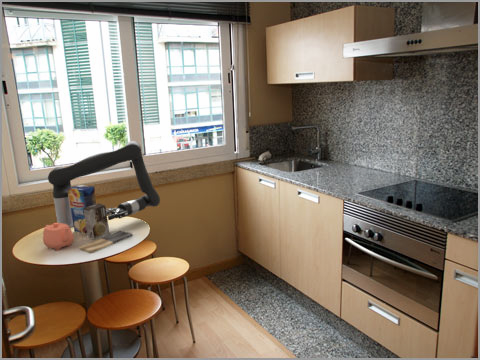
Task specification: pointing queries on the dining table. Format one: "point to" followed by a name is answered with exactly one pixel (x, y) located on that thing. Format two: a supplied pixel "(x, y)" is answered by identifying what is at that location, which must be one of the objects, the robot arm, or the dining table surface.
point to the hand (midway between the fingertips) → (103, 216)
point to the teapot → (57, 236)
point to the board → (105, 241)
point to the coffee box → (96, 221)
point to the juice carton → (80, 205)
